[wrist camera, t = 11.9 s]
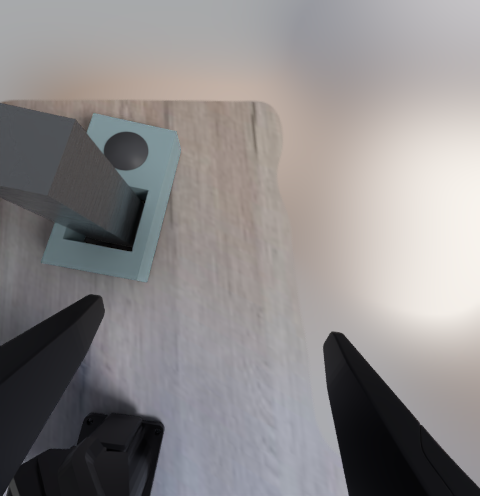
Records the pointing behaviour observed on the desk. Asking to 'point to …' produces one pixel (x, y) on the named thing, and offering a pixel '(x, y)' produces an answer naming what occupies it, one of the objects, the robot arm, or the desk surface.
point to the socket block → (143, 185)
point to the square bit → (64, 176)
